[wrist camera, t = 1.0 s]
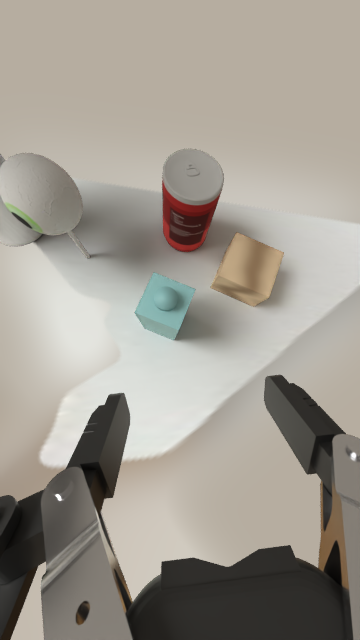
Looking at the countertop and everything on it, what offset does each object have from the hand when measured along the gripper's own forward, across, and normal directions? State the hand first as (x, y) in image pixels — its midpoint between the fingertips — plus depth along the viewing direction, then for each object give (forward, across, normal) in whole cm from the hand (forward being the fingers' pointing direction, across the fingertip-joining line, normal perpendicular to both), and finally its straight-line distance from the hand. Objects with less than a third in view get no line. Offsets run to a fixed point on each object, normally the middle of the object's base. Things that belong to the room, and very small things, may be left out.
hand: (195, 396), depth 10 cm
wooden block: (+24, -11, -2) cm, 27 cm away
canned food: (+28, -2, -10) cm, 30 cm away
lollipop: (+25, +14, -8) cm, 30 cm away
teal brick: (+20, +2, +2) cm, 20 cm away
